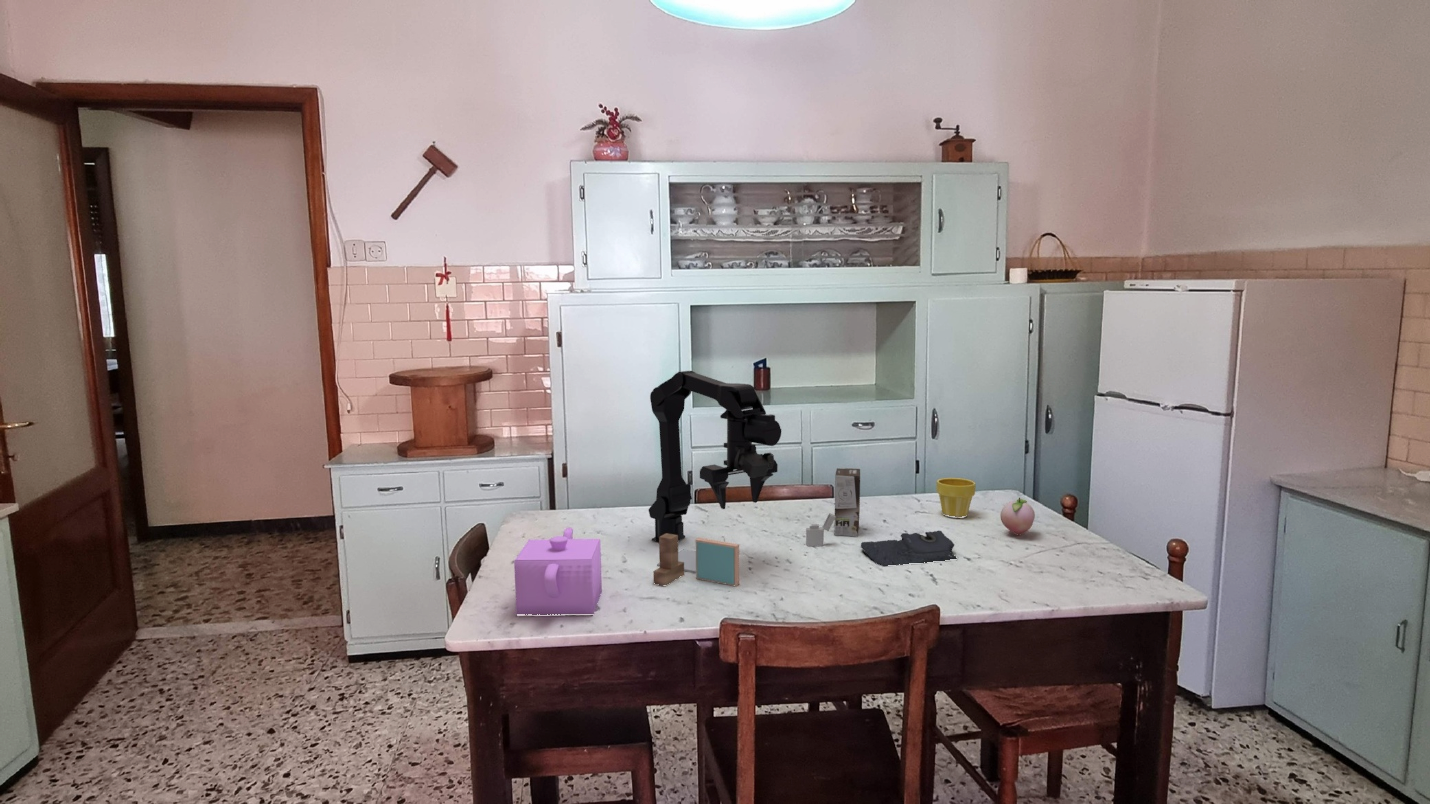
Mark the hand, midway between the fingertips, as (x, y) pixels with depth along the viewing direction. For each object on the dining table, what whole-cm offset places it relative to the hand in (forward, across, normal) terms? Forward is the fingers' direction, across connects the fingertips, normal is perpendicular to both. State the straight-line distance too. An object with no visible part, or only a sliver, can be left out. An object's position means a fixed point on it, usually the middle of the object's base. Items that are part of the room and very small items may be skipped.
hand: (739, 505), depth 186 cm
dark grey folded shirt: (+14, +37, -19) cm, 44 cm away
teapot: (+14, -43, +3) cm, 46 cm away
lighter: (+14, +25, -1) cm, 28 cm away
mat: (+14, -8, +7) cm, 18 cm away
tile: (+14, -11, -6) cm, 19 cm away
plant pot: (+14, +73, -5) cm, 74 cm away
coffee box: (+14, +38, +3) cm, 41 cm away
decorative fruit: (+14, +71, -26) cm, 77 cm away
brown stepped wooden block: (+14, -19, +1) cm, 23 cm away
